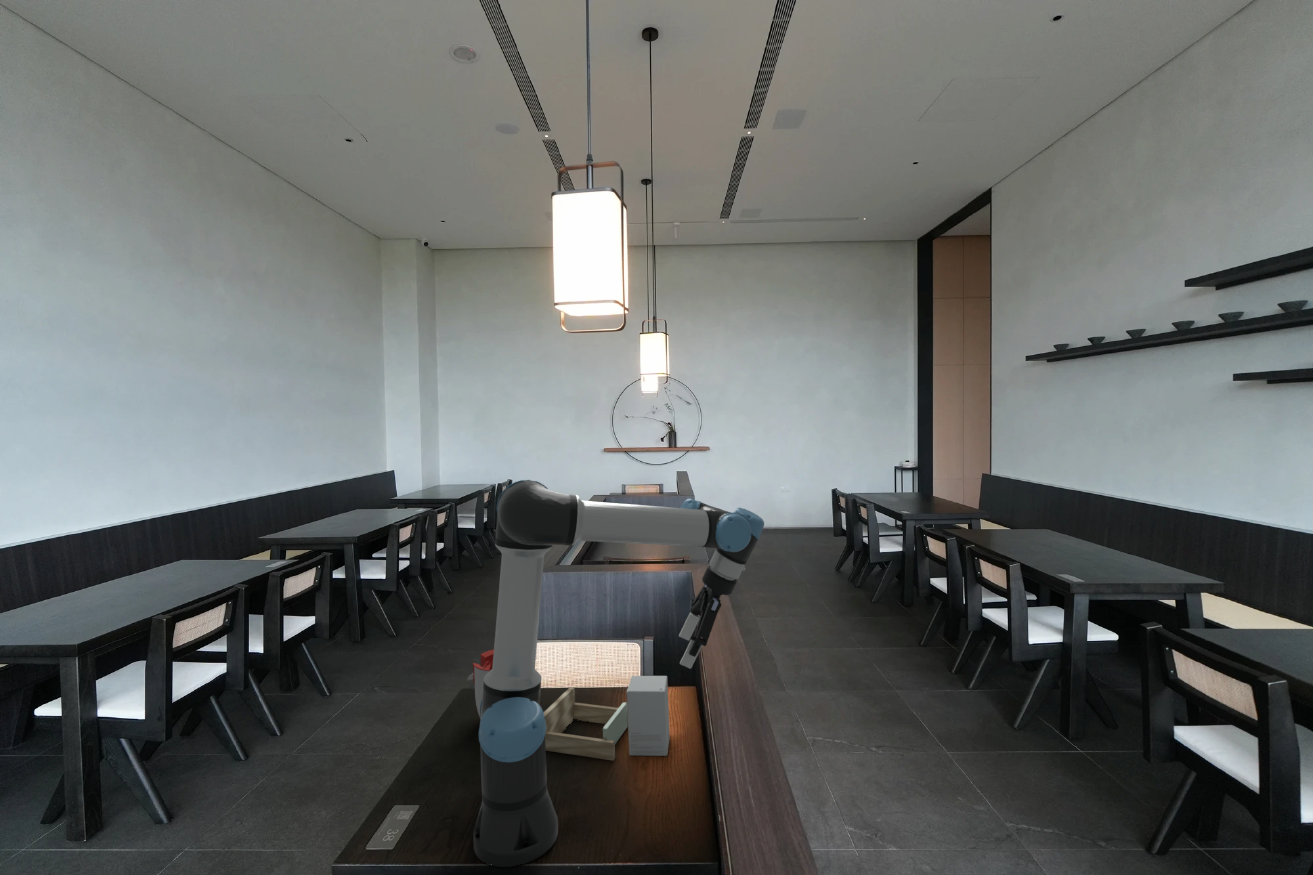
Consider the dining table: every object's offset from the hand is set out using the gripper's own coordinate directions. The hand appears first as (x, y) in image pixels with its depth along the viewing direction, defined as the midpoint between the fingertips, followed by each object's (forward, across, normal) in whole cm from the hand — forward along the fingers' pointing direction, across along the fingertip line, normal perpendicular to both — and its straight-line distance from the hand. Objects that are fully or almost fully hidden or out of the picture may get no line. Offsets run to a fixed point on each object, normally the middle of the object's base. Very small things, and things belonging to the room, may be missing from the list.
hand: (684, 651), depth 139 cm
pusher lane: (+30, +1, +11) cm, 32 cm away
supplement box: (+23, -4, -2) cm, 24 cm away
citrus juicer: (+42, +8, +32) cm, 53 cm away
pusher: (+27, -1, +6) cm, 27 cm away
